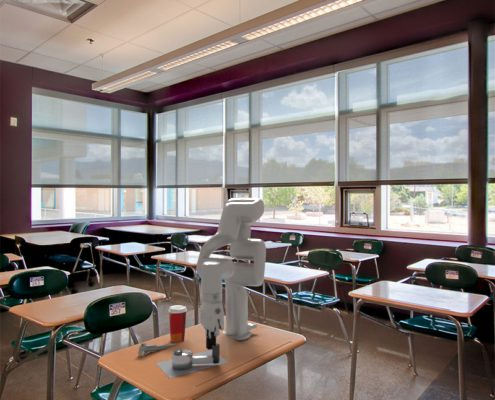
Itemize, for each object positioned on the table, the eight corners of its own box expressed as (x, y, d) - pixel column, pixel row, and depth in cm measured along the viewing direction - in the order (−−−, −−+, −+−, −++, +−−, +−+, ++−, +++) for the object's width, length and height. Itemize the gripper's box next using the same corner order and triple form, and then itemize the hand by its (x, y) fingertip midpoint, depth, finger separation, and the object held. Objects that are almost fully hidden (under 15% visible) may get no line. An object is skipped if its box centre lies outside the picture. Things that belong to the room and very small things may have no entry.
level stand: (211, 353, 144) (211, 349, 144) (228, 366, 133) (228, 362, 133) (155, 367, 132) (155, 362, 132) (169, 382, 121) (169, 377, 121)
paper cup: (179, 336, 162) (179, 303, 162) (190, 340, 156) (190, 307, 156) (164, 340, 156) (164, 307, 156) (175, 346, 151) (175, 311, 151)
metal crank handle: (219, 359, 134) (219, 341, 134) (219, 368, 127) (219, 348, 127) (173, 361, 133) (173, 342, 133) (170, 370, 126) (171, 350, 126)
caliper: (139, 361, 137) (139, 344, 137) (138, 360, 138) (138, 343, 137) (184, 346, 152) (185, 330, 152) (183, 345, 152) (183, 330, 152)
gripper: (231, 300, 129) (230, 353, 129) (211, 291, 142) (211, 339, 141) (211, 303, 125) (210, 358, 125) (193, 293, 138) (192, 343, 137)
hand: (211, 348), depth 133 cm, fingers closed
